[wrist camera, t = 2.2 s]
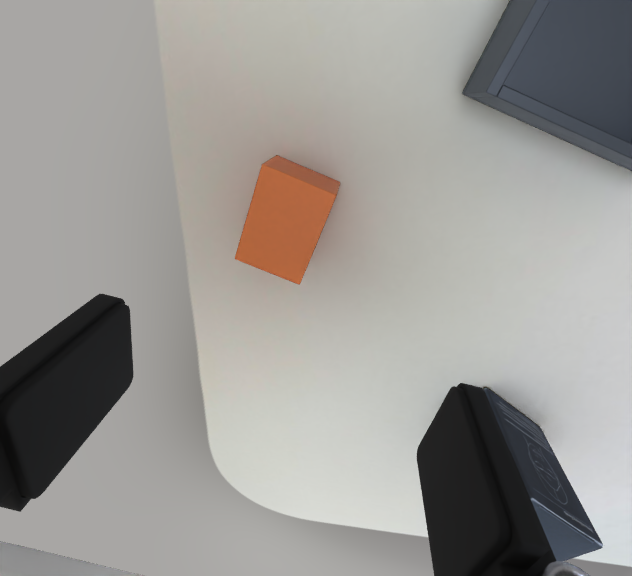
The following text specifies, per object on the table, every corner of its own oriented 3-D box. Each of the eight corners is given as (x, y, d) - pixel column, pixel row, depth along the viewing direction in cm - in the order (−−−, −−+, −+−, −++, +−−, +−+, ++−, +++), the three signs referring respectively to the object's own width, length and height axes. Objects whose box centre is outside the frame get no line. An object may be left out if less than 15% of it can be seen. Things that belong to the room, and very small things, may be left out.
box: (439, 415, 35) (466, 529, 26) (486, 384, 33) (534, 498, 23) (494, 454, 37) (537, 574, 27) (542, 427, 34) (608, 549, 25)
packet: (250, 239, 29) (234, 259, 25) (276, 154, 25) (261, 163, 22) (307, 262, 29) (299, 285, 25) (340, 182, 26) (336, 195, 22)
